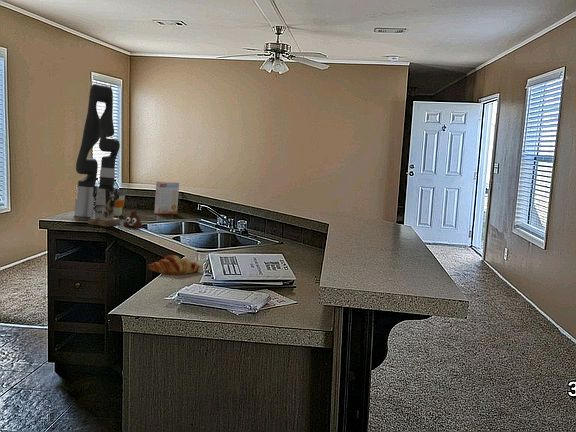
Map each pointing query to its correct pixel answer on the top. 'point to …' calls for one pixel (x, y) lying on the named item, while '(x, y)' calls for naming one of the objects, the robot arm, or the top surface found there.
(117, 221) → the square wooden picture frame
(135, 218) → the poop emoji
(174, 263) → the croissant
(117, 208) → the reusable coffee cup
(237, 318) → the top surface
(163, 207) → the cracker box
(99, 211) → the coffee box
